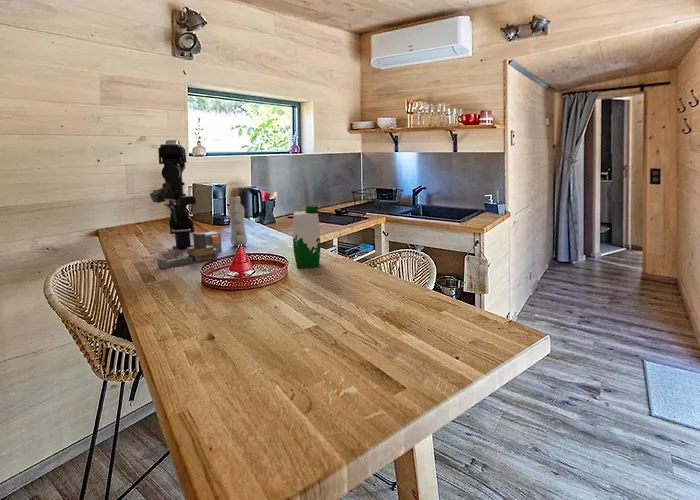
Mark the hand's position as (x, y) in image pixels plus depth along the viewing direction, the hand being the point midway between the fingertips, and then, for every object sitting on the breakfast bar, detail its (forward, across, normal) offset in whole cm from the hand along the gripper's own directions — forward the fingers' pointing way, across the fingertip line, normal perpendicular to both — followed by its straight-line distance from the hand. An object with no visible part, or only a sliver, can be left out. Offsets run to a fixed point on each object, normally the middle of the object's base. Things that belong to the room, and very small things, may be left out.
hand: (177, 222), depth 171 cm
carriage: (+13, +10, +2) cm, 16 cm away
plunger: (+9, +1, +13) cm, 16 cm away
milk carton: (+13, +47, +20) cm, 53 cm away
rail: (+13, +10, -2) cm, 16 cm away
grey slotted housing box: (+13, -1, +13) cm, 18 cm away
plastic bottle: (+13, 0, +26) cm, 29 cm away
